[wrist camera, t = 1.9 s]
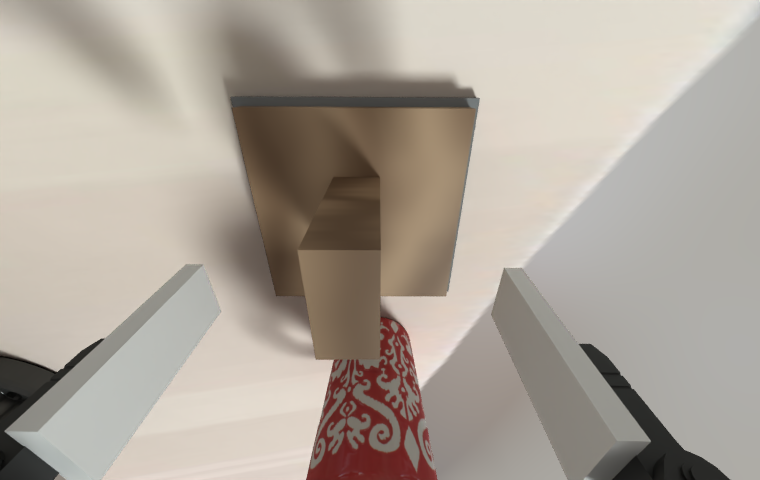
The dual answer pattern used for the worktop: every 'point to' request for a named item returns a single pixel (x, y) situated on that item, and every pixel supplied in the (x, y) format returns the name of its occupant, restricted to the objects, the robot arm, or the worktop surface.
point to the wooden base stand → (355, 209)
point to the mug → (374, 418)
